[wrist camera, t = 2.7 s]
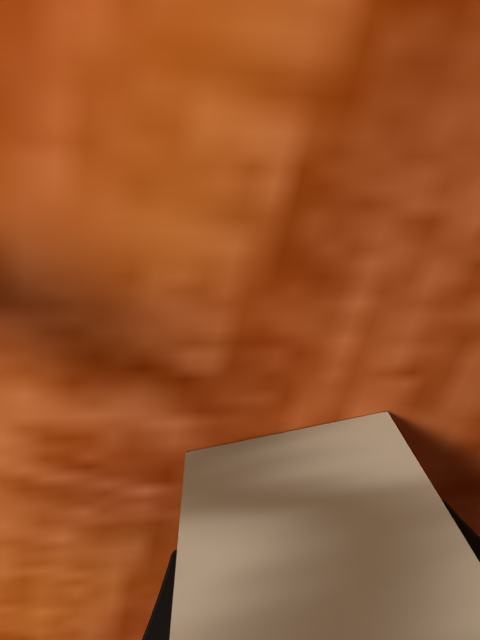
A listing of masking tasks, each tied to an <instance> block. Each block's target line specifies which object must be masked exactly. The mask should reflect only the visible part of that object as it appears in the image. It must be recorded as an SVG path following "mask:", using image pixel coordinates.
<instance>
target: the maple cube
mask: <svg viewBox="0 0 480 640" xmlns="http://www.w3.org/2000/svg"><path fill="white" fill-rule="evenodd" d="M169 640H480V562H479V561H478V559H477V557H476V556H475V554H474V552H473V551H472V549H471V547H470V546H469V544H468V543H467V541H466V539H465V538H464V536H463V534H462V533H461V531H460V529H459V528H458V526H457V525H456V523H455V521H454V520H453V518H452V516H451V515H450V513H449V511H448V510H447V508H446V507H445V505H444V503H443V502H442V500H441V498H440V497H439V495H438V493H437V492H436V490H435V489H434V487H433V485H432V484H431V482H430V480H429V479H428V477H427V475H426V474H425V472H424V471H423V469H422V467H421V466H420V464H419V462H418V461H417V459H416V457H415V456H414V454H413V453H412V451H411V449H410V448H409V446H408V444H407V443H406V441H405V439H404V438H403V436H402V435H401V433H400V431H399V430H398V428H397V426H396V425H395V423H394V421H393V420H392V418H391V417H390V415H389V413H388V412H382V413H377V414H372V415H367V416H362V417H357V418H352V419H348V420H343V421H338V422H333V423H328V424H323V425H318V426H313V427H308V428H303V429H298V430H293V431H288V432H284V433H279V434H274V435H269V436H264V437H259V438H254V439H249V440H244V441H239V442H234V443H229V444H224V445H220V446H215V447H210V448H205V449H200V450H195V451H190V452H186V454H185V466H184V477H183V489H182V500H181V512H180V523H179V535H178V546H177V558H176V569H175V581H174V592H173V604H172V615H171V627H170V638H169Z"/></svg>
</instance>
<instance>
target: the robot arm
mask: <svg viewBox="0 0 480 640" xmlns="http://www.w3.org/2000/svg"><path fill="white" fill-rule="evenodd" d="M441 500H442V499H441ZM442 502H443V503H444V505H445V507H446V508H447V510H448V511H449V513H450V515H451V516H452V518H453V520H454V521H455V523H456V525H457V526H458V528H459V529H460V531H461V533H462V534H463V536H464V538H465V539H466V541H467V543H468V544H469V546H470V547H471V549H472V551H473V552H474V554H475V556H476V557H477V559H478V561H479V562H480V537H479V536H478V535H477V534H476V533H475V532H474V531H473V530H472V529H471V528H470V527H469V526H468V525H467V524H466V523H465V522H464V521H463V520H462V519H461V518H460V517H459V516H458V515H457V514H456V512H455V511H454V510H453V509H452V508H451V507H450V506H449V505H448V504H447V503H446V502H445V501H444V500H442ZM176 558H177V550H175V551H174V552H173V553H172V554H171V558H170V561H169V564H168V568H167V571H166V574H165V577H164V580H163V583H162V586H161V589H160V592H159V595H158V598H157V601H156V604H155V606H154V609H153V612H152V615H151V618H150V620H149V623H148V626H147V628H146V631H145V633H144V636H143V638H142V640H169V638H170V627H171V615H172V604H173V592H174V581H175V569H176Z"/></svg>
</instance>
